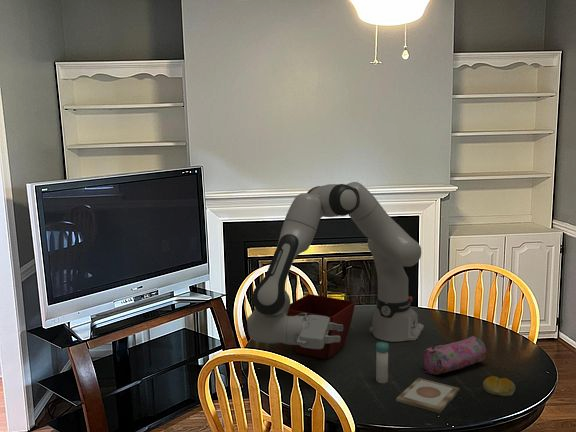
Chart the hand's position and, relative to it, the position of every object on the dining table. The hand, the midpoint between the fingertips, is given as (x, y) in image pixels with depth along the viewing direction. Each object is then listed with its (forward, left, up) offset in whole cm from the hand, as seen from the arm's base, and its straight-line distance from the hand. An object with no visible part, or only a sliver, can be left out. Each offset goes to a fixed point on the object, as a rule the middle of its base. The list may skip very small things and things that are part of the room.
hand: (341, 333), depth 188 cm
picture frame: (-3, +27, -15) cm, 31 cm away
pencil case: (-27, +26, -15) cm, 41 cm away
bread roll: (-19, +43, -15) cm, 50 cm away
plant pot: (-15, -18, -15) cm, 28 cm away
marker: (-5, +11, -15) cm, 19 cm away
